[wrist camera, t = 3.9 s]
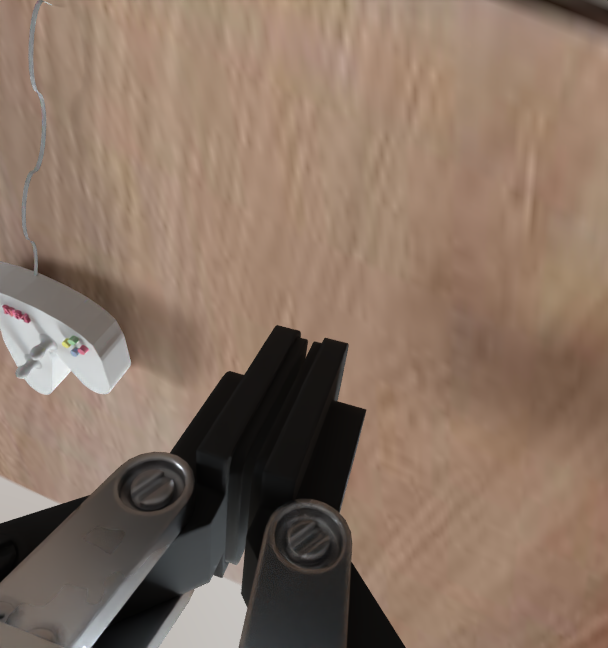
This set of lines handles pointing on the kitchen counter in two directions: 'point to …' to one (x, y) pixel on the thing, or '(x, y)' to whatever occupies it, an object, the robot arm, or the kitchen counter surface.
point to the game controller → (56, 315)
